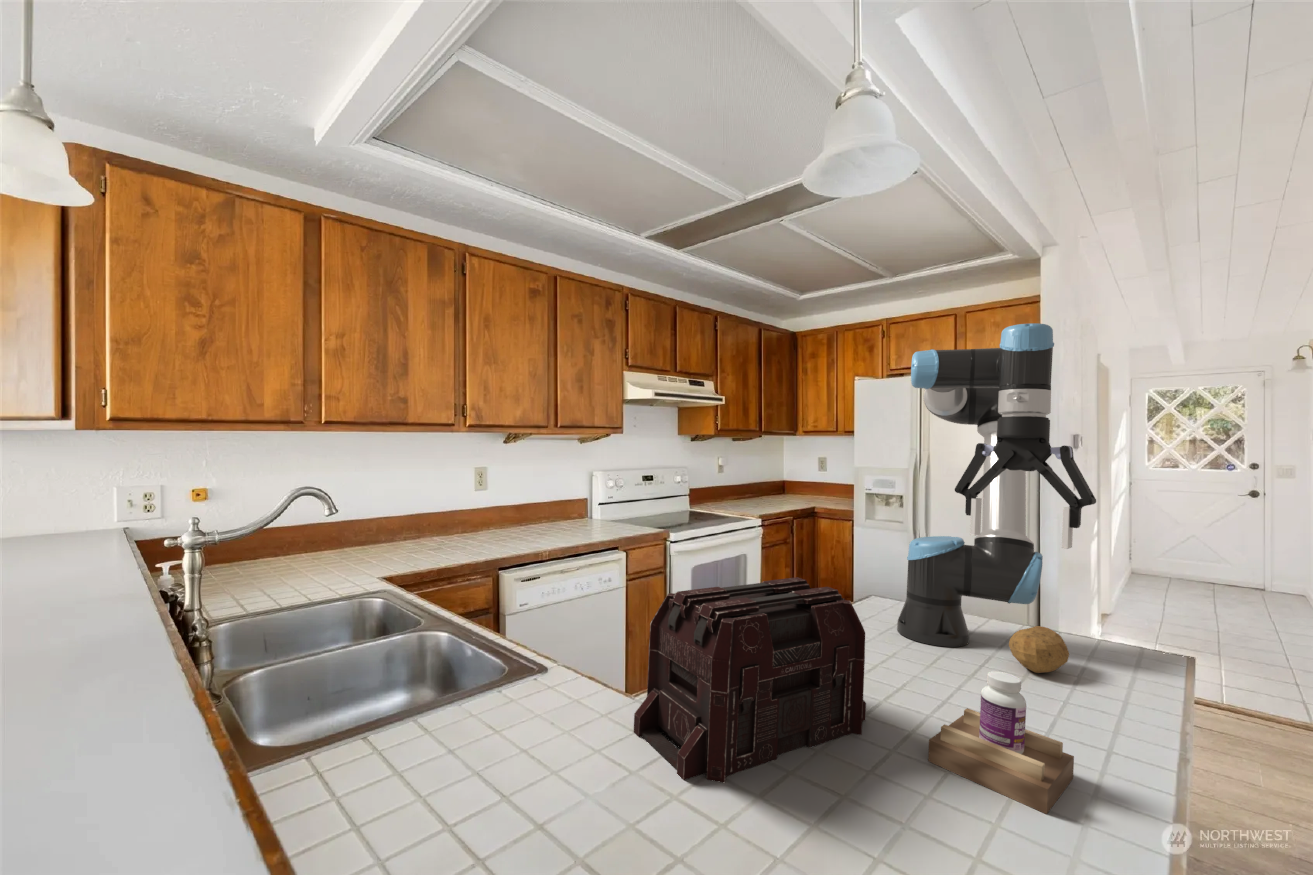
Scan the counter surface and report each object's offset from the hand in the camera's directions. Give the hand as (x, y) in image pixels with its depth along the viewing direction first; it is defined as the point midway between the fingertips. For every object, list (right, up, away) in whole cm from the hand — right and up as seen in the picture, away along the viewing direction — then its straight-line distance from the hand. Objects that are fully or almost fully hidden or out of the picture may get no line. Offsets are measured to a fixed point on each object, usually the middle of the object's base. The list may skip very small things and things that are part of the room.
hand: (1018, 541), depth 95 cm
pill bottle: (-14, -25, -18) cm, 34 cm away
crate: (-47, -27, -9) cm, 55 cm away
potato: (+16, -30, +18) cm, 38 cm away
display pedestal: (-15, -28, -18) cm, 37 cm away
